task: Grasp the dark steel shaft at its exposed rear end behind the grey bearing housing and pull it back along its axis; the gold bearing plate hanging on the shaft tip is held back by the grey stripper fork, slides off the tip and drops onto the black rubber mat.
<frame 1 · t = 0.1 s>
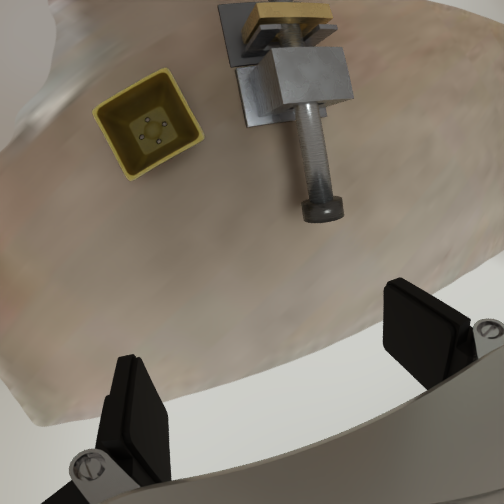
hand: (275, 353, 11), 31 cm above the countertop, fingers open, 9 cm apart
gold bearing plate: (273, 35, 33), point 2 cm above the countertop, touching shaft
stripper fork: (272, 54, 36), resting on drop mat
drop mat: (267, 31, 35), on the countertop
bearing housing: (281, 93, 38), on the countertop
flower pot: (154, 131, 36), on the countertop
shaft: (303, 97, 32), point 7 cm above the countertop, slide at 0.0 cm, touching gold bearing plate
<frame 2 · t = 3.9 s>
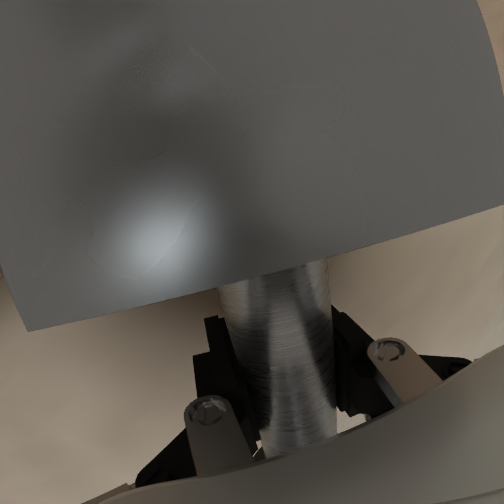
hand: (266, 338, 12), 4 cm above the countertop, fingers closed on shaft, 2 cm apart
bearing housing: (208, 121, 13), on the countertop
shaft: (251, 164, 7), point 7 cm above the countertop, slide at 0.0 cm, touching gripper, gold bearing plate
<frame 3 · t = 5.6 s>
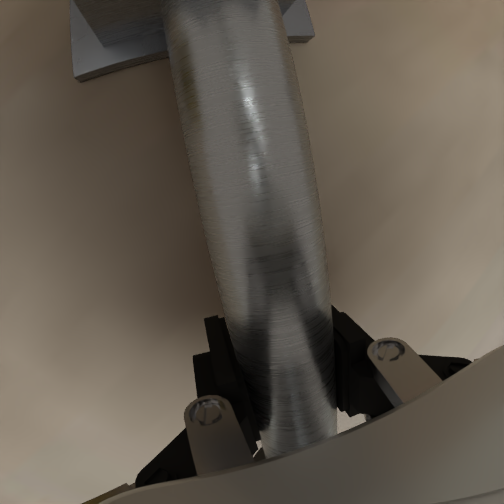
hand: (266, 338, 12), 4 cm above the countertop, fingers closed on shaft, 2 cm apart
shaft: (251, 163, 7), point 7 cm above the countertop, slide at 7.5 cm, touching gripper
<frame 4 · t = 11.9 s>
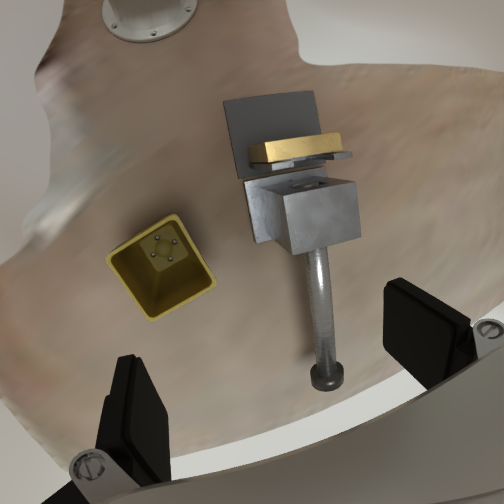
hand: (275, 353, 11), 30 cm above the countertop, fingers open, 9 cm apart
gold bearing plate: (280, 148, 38), resting on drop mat
stripper fork: (281, 159, 39), resting on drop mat
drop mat: (276, 132, 38), on the countertop
bearing housing: (289, 203, 41), on the countertop
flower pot: (164, 248, 39), on the countertop
shaft: (320, 298, 38), point 7 cm above the countertop, slide at 8.9 cm
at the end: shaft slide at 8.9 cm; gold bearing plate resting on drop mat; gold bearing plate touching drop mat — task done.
